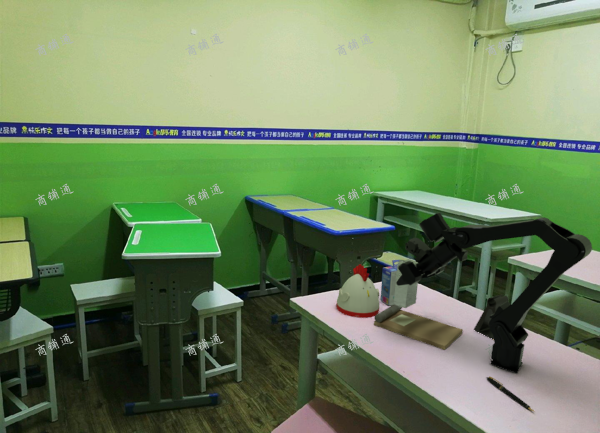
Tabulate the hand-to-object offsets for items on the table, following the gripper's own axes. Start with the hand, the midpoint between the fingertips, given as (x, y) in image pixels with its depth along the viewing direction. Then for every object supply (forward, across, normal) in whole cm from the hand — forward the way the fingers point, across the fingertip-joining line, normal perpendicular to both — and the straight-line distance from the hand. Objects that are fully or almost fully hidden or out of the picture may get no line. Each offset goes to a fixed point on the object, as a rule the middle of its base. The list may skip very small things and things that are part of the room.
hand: (402, 281), depth 137 cm
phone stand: (-6, -15, +26) cm, 31 cm away
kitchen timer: (+20, +1, -1) cm, 20 cm away
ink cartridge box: (+17, -14, +2) cm, 22 cm away
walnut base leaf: (+5, -1, +14) cm, 15 cm away
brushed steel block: (+4, 0, +6) cm, 7 cm away
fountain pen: (-17, +14, +37) cm, 43 cm away
